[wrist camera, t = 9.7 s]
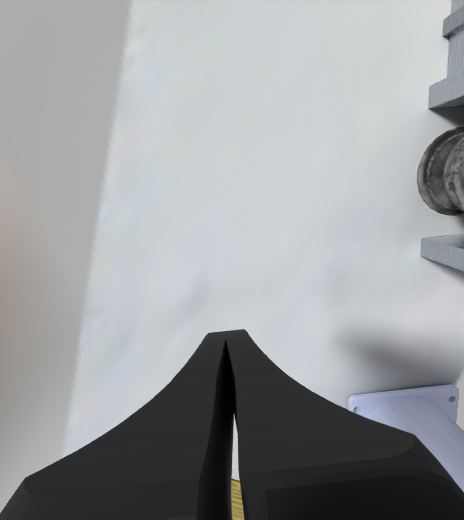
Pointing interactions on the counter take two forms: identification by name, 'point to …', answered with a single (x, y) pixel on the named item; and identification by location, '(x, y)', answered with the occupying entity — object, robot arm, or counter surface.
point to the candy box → (236, 501)
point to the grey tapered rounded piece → (443, 173)
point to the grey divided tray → (445, 95)
